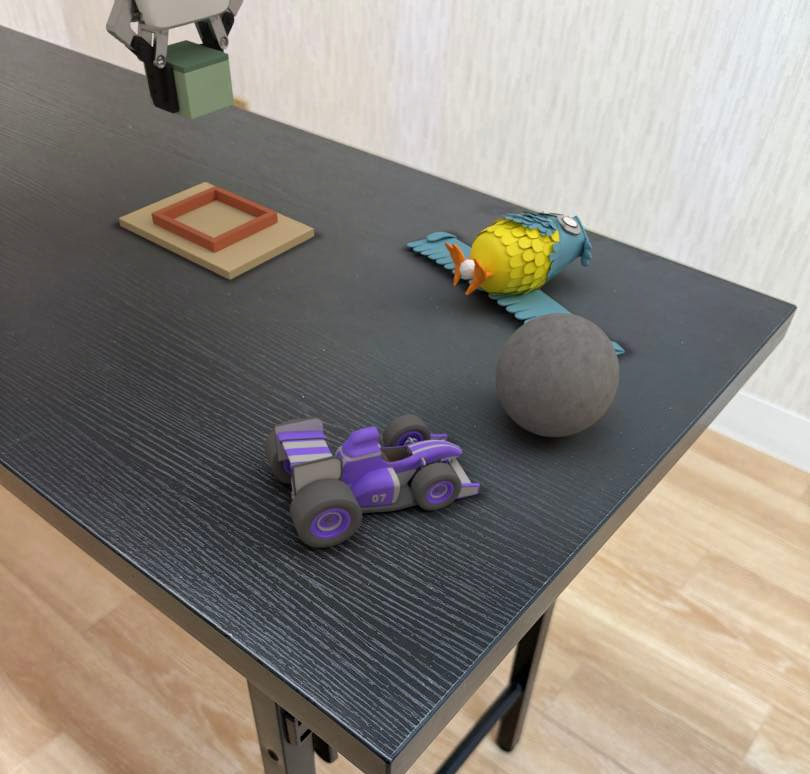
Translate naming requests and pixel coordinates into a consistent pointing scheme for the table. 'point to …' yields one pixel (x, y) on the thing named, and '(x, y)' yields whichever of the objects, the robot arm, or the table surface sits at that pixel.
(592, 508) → the table surface
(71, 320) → the table surface
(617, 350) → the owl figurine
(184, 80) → the green lidded box
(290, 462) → the toy race car
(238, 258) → the wooden board with frame
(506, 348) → the decorative ball
